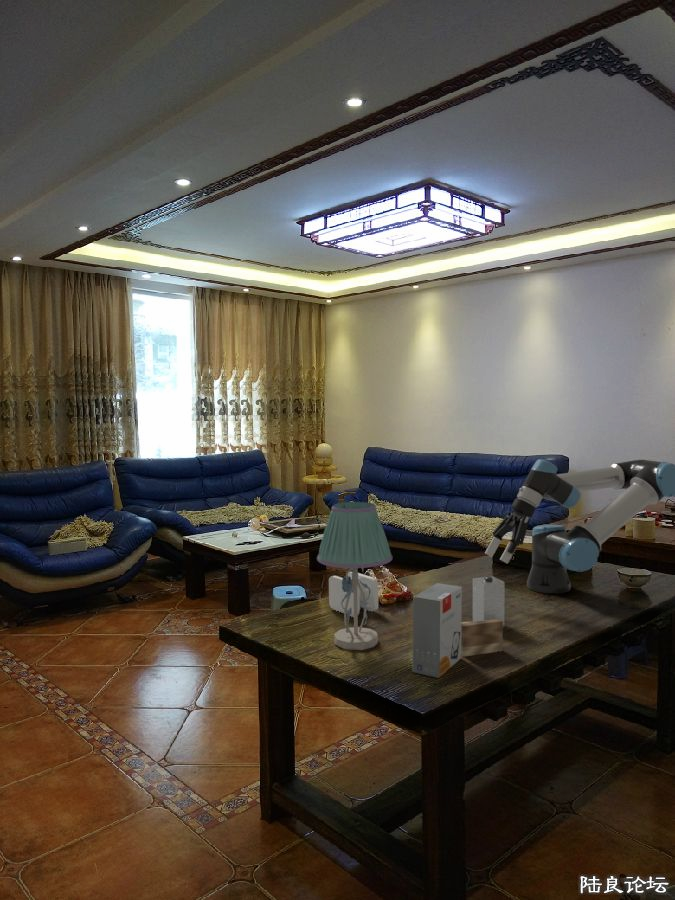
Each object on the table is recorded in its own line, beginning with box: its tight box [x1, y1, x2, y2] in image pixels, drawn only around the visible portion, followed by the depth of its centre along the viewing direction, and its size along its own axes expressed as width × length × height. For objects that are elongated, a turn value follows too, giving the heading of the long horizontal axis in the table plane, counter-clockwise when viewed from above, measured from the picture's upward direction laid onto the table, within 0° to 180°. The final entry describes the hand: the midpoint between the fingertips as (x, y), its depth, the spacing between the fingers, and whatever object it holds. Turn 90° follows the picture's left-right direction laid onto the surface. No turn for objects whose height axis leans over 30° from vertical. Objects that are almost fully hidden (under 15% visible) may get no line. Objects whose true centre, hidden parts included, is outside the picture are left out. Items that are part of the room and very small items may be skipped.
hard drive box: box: [411, 582, 463, 679], centre depth 171 cm, size 16×8×20 cm, turn 148°
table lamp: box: [316, 501, 393, 651], centre depth 188 cm, size 22×22×40 cm
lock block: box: [472, 575, 506, 627], centre depth 202 cm, size 7×7×15 cm
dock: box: [461, 619, 504, 658], centre depth 188 cm, size 12×18×8 cm, turn 17°
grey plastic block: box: [328, 571, 379, 618], centre depth 218 cm, size 15×11×12 cm
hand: (495, 558), depth 218 cm, fingers open, 13 cm apart
